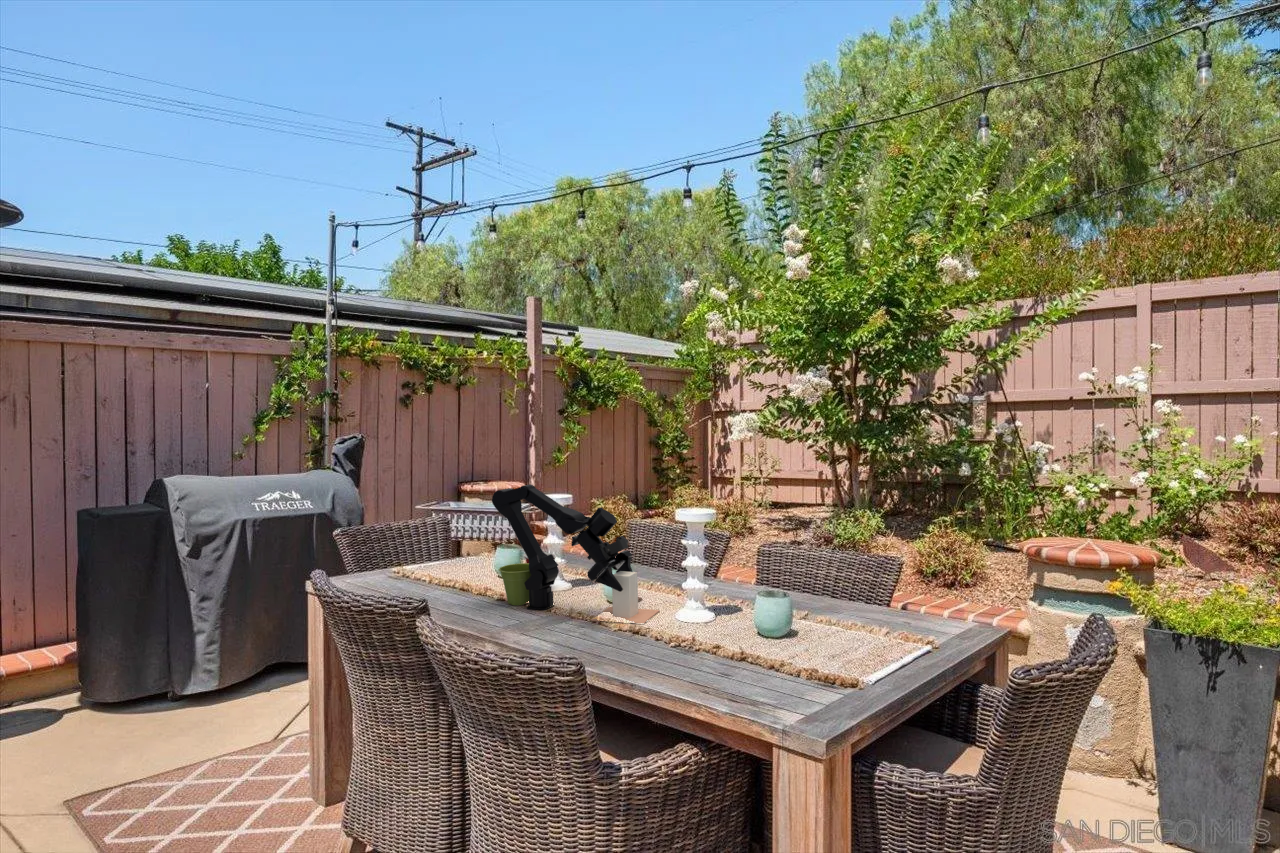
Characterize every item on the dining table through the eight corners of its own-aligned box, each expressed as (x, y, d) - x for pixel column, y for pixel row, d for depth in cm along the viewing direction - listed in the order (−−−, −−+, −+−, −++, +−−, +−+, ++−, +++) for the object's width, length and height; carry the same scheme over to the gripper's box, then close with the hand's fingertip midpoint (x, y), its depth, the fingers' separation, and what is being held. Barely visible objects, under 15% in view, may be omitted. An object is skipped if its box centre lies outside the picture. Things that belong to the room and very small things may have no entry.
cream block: (613, 616, 228) (611, 575, 228) (621, 611, 233) (620, 571, 233) (630, 618, 226) (628, 576, 226) (638, 613, 231) (637, 572, 230)
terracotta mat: (590, 620, 226) (590, 619, 226) (609, 608, 239) (609, 606, 239) (643, 624, 220) (643, 623, 220) (659, 611, 234) (659, 610, 234)
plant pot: (496, 601, 251) (495, 566, 251) (532, 596, 256) (531, 561, 256) (505, 610, 240) (503, 573, 240) (542, 604, 245) (541, 568, 245)
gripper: (595, 534, 222) (631, 575, 218) (625, 523, 239) (659, 562, 234) (572, 560, 226) (607, 601, 221) (603, 548, 243) (636, 586, 238)
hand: (629, 586), depth 229 cm, fingers open, 9 cm apart
